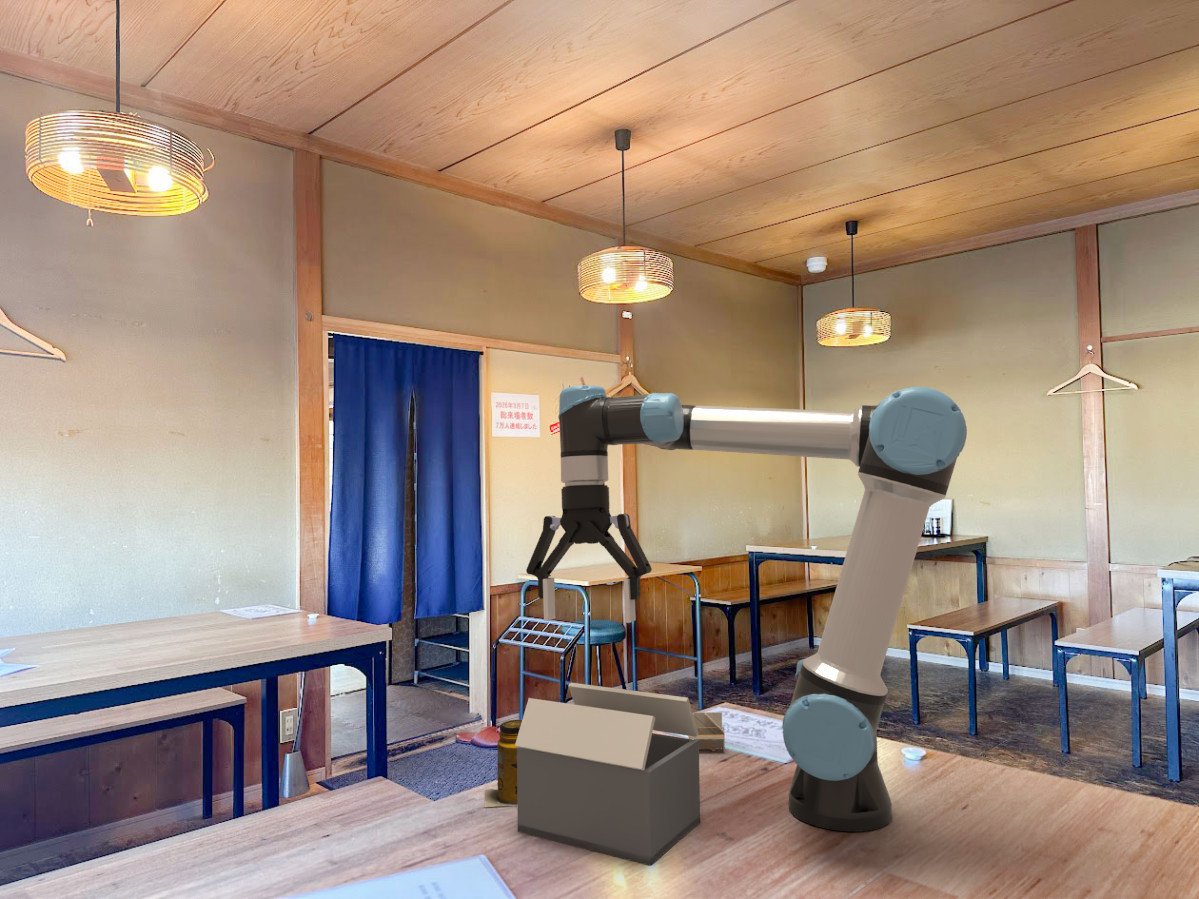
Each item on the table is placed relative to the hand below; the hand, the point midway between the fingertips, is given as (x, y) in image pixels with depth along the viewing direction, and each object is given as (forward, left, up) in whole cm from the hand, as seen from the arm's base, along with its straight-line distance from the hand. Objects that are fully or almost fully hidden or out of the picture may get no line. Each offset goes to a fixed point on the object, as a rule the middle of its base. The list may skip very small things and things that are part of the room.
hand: (589, 620), depth 122 cm
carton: (-5, +2, -30) cm, 30 cm away
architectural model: (-3, -38, -30) cm, 49 cm away
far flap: (-5, -5, -14) cm, 16 cm away
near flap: (-5, +9, -14) cm, 17 cm away
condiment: (+15, 0, -30) cm, 34 cm away
